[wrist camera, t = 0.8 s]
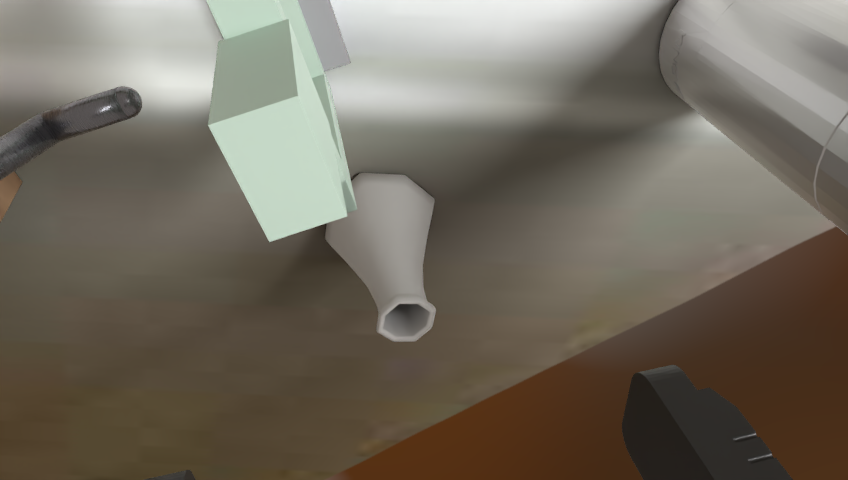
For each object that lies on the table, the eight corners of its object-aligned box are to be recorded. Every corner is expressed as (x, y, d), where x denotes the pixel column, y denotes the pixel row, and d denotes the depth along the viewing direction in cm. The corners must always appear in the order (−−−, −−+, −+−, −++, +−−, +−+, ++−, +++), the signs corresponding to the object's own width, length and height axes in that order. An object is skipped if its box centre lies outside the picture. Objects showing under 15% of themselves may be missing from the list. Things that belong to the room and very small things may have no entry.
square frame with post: (271, -172, 29) (288, -88, 14) (354, 72, 36) (422, 296, 21) (164, -137, 29) (65, -16, 14) (269, 100, 36) (279, 343, 21)
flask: (306, 243, 43) (317, 354, 35) (352, 153, 39) (376, 254, 31) (402, 271, 46) (431, 378, 38) (452, 190, 42) (496, 289, 35)
